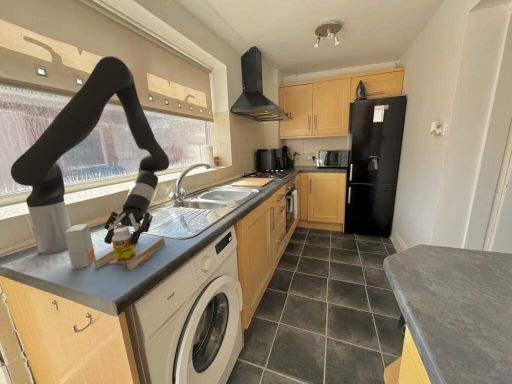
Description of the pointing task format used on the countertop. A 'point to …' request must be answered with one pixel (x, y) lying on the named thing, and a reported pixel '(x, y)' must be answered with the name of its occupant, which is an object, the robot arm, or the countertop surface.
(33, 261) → the countertop surface
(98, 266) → the guide channel
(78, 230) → the skincare box
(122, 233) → the supplement bottle
